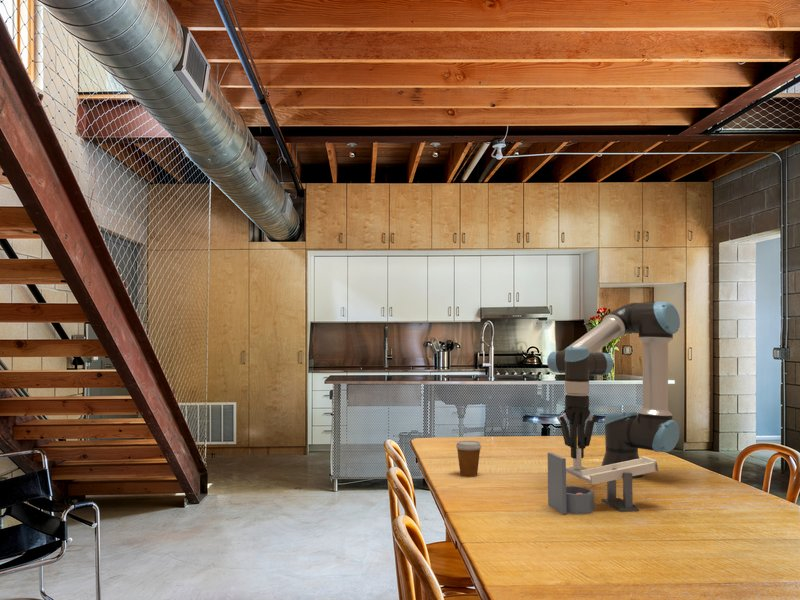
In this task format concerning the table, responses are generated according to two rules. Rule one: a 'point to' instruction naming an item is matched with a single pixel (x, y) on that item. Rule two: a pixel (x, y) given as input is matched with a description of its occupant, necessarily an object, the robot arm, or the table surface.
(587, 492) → the cup
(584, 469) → the lever
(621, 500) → the trough stand
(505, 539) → the table surface
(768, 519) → the table surface
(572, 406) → the robot arm
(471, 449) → the disposable coffee cup
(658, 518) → the table surface
